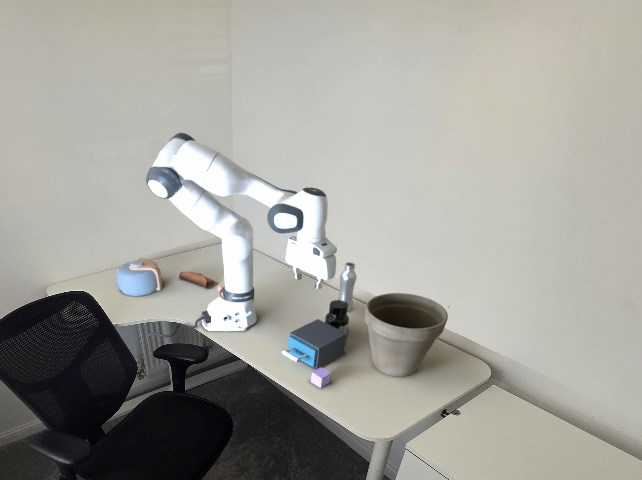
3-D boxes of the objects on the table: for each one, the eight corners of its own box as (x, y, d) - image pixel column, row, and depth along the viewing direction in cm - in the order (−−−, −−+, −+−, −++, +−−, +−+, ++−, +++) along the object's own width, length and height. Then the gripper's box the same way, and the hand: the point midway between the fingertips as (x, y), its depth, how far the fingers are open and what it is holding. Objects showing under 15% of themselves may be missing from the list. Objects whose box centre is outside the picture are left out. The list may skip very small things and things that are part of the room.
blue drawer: (301, 374, 146) (303, 357, 142) (275, 358, 154) (276, 342, 150) (338, 353, 156) (341, 337, 152) (313, 339, 164) (314, 323, 160)
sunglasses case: (218, 282, 206) (213, 273, 201) (210, 293, 204) (204, 284, 199) (190, 272, 215) (184, 264, 210) (182, 283, 213) (176, 275, 208)
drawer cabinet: (316, 369, 150) (319, 348, 145) (288, 352, 158) (289, 332, 153) (344, 353, 157) (347, 333, 152) (315, 338, 166) (317, 318, 161)
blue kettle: (169, 289, 202) (166, 264, 194) (128, 300, 193) (123, 275, 185) (151, 275, 214) (148, 251, 207) (112, 285, 205) (107, 260, 198)
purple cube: (320, 388, 141) (321, 378, 139) (310, 382, 144) (311, 372, 142) (329, 382, 144) (331, 373, 141) (319, 376, 146) (320, 367, 144)
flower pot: (343, 366, 151) (351, 310, 138) (377, 338, 166) (388, 285, 153) (411, 396, 138) (428, 337, 125) (442, 362, 152) (460, 307, 139)
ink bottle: (344, 340, 165) (348, 311, 158) (321, 336, 167) (324, 308, 160) (348, 327, 172) (353, 300, 165) (326, 324, 175) (329, 296, 168)
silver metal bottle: (352, 313, 182) (359, 267, 170) (335, 312, 183) (341, 266, 171) (352, 306, 187) (359, 261, 175) (336, 305, 188) (341, 260, 176)
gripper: (281, 236, 144) (280, 276, 152) (326, 254, 130) (322, 296, 138) (296, 232, 147) (294, 271, 155) (341, 249, 133) (336, 290, 141)
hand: (308, 283), depth 147 cm, fingers open, 8 cm apart
